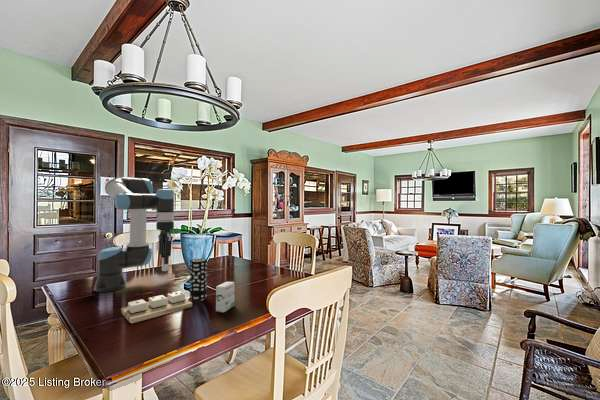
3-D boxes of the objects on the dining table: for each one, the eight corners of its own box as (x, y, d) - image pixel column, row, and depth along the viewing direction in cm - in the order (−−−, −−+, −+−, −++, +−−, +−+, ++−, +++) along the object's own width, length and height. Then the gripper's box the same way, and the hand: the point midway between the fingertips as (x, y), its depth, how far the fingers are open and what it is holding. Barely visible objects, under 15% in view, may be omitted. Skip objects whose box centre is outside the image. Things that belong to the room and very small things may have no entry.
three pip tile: (167, 299, 135) (167, 293, 135) (180, 296, 140) (180, 290, 140) (172, 303, 131) (172, 296, 131) (184, 300, 135) (184, 293, 135)
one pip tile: (127, 309, 123) (127, 302, 123) (142, 305, 127) (142, 298, 127) (131, 313, 119) (131, 305, 119) (146, 309, 123) (146, 302, 123)
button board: (121, 312, 126) (121, 308, 126) (179, 298, 144) (179, 294, 144) (130, 323, 114) (130, 318, 114) (192, 306, 133) (192, 302, 133)
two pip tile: (148, 304, 129) (148, 297, 129) (162, 301, 133) (162, 294, 134) (152, 308, 125) (152, 300, 125) (166, 304, 129) (166, 297, 129)
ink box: (226, 304, 136) (226, 280, 136) (235, 306, 134) (235, 281, 134) (215, 311, 128) (215, 285, 128) (224, 312, 126) (224, 287, 126)
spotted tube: (187, 298, 144) (187, 260, 144) (202, 294, 150) (202, 257, 150) (194, 302, 138) (194, 262, 139) (209, 298, 145) (210, 260, 145)
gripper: (152, 221, 135) (152, 269, 134) (161, 222, 125) (161, 274, 125) (168, 220, 140) (168, 267, 139) (178, 221, 130) (178, 271, 130)
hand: (165, 270), depth 132 cm, fingers closed
